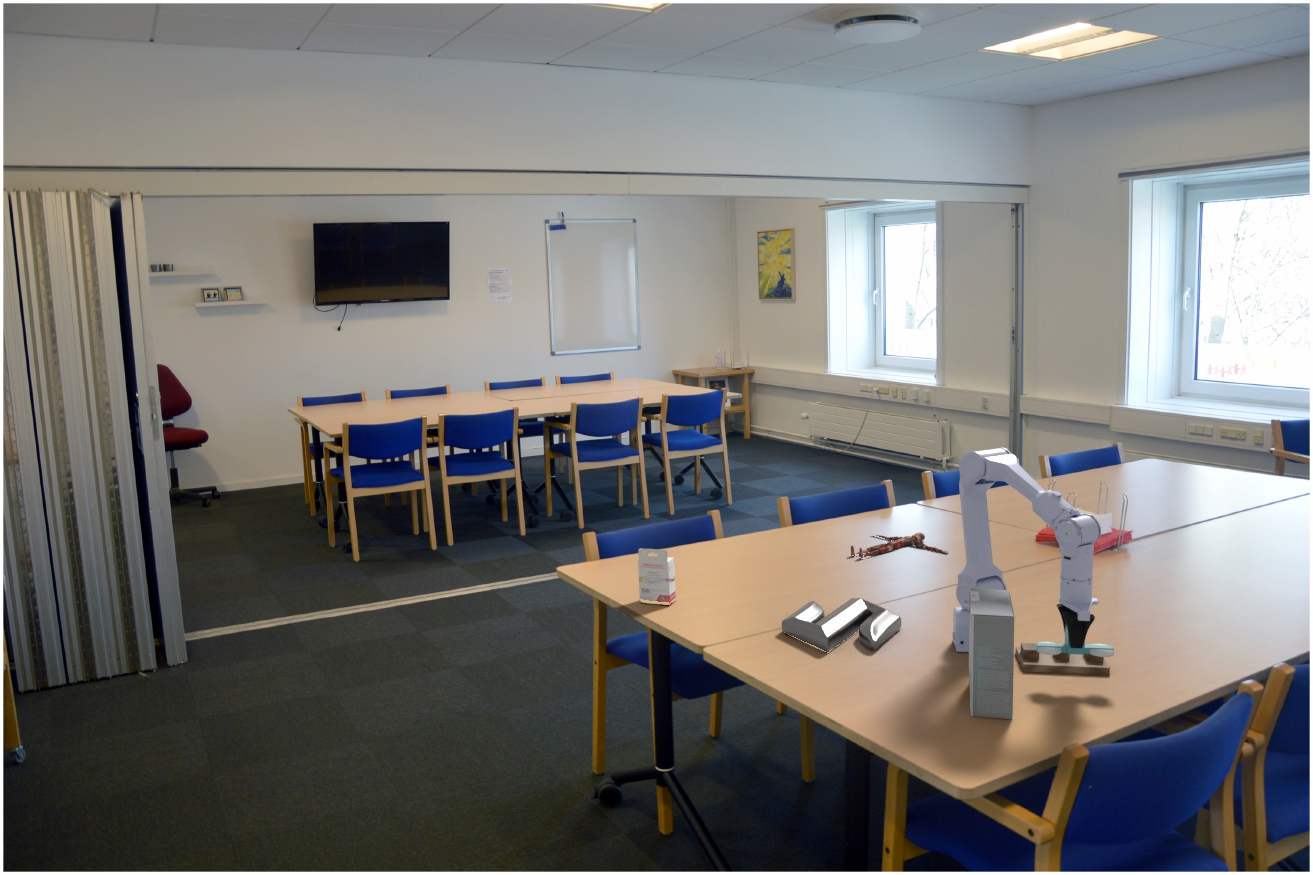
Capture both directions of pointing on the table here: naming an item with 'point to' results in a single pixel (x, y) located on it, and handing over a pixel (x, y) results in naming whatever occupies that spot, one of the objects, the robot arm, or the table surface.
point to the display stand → (1060, 662)
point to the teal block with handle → (1092, 649)
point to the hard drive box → (991, 653)
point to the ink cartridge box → (656, 576)
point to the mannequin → (896, 545)
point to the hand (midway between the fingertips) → (1074, 644)
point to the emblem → (842, 624)
